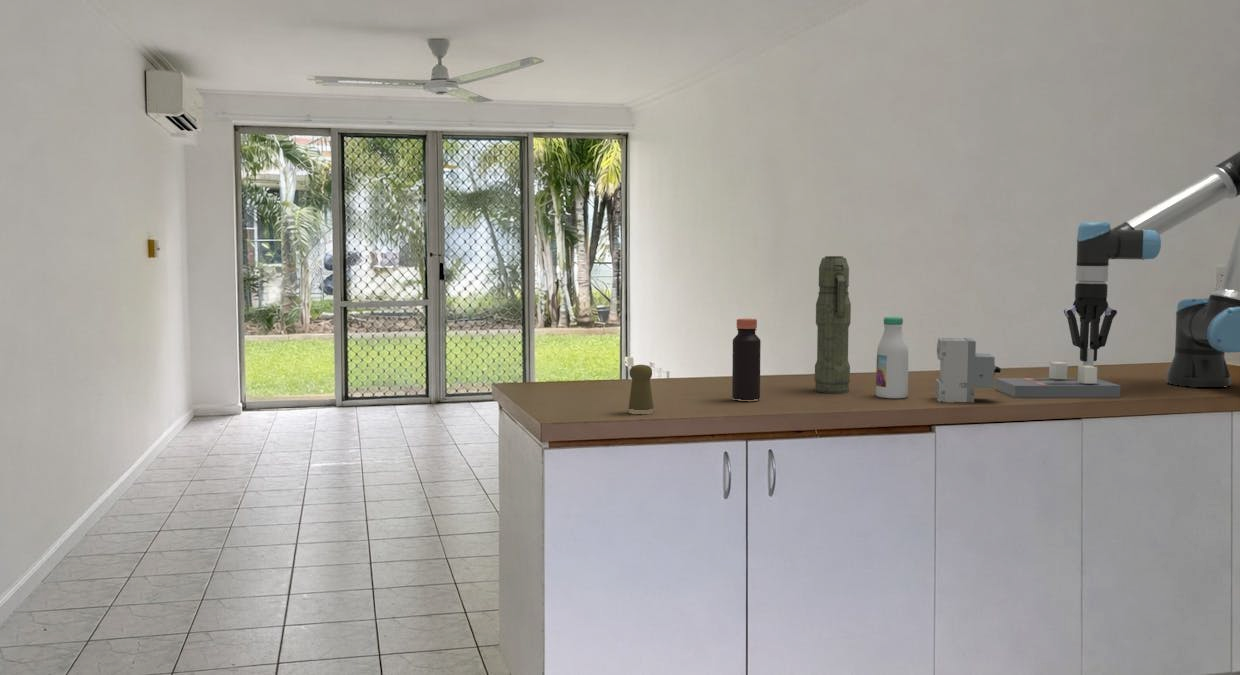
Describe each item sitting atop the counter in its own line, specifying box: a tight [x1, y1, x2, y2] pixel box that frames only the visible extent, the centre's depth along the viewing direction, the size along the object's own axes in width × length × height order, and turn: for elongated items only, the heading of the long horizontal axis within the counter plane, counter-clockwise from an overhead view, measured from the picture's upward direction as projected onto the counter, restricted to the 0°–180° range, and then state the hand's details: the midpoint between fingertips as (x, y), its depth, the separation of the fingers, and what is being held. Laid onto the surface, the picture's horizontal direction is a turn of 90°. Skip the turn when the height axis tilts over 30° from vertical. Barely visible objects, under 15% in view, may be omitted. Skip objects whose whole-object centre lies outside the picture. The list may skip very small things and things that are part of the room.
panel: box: [994, 377, 1122, 399], centre depth 262 cm, size 26×14×3 cm, turn 89°
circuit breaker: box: [935, 337, 1001, 404], centre depth 251 cm, size 8×14×15 cm, turn 78°
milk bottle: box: [875, 316, 909, 399], centre depth 257 cm, size 8×8×20 cm
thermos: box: [814, 255, 852, 394], centre depth 266 cm, size 9×12×35 cm
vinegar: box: [731, 318, 762, 400], centre depth 252 cm, size 7×7×20 cm
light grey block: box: [1048, 361, 1069, 379], centre depth 265 cm, size 3×4×4 cm
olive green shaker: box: [628, 364, 654, 410], centre depth 235 cm, size 6×6×11 cm
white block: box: [1077, 365, 1098, 383], centre depth 257 cm, size 3×4×4 cm
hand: (1087, 373), depth 265 cm, fingers closed
